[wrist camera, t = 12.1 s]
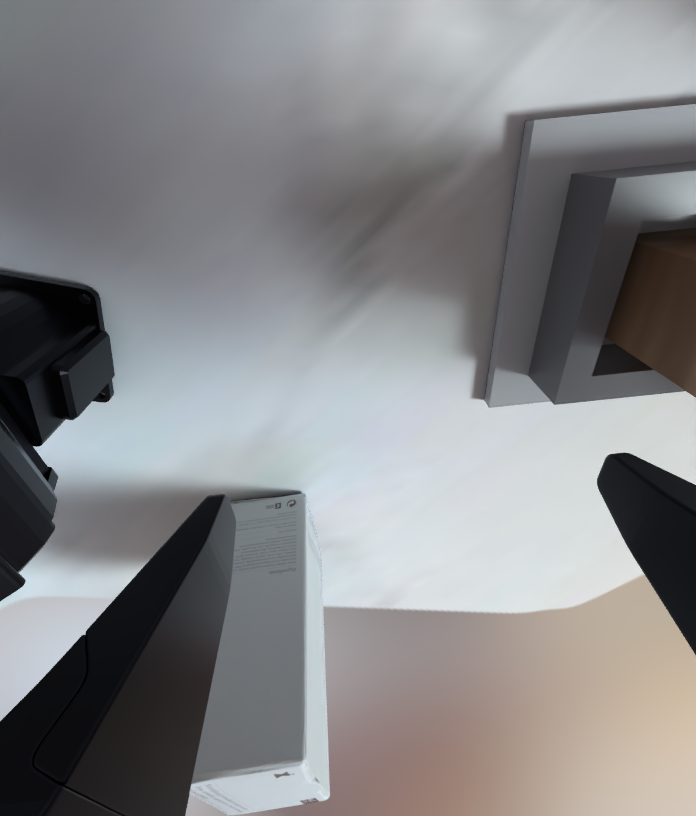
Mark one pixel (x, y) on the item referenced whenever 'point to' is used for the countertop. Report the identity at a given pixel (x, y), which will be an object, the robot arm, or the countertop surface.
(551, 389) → the socket
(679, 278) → the walnut peg
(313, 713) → the skincare box
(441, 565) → the countertop surface
